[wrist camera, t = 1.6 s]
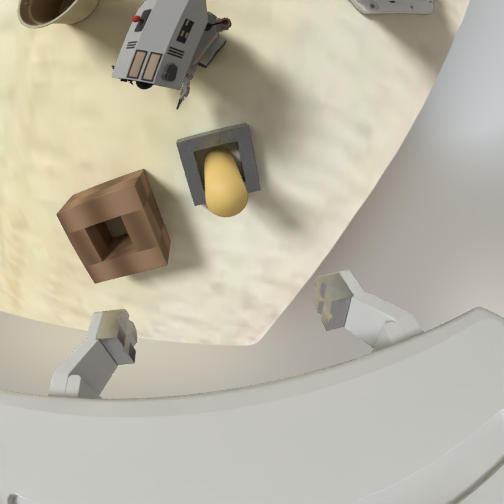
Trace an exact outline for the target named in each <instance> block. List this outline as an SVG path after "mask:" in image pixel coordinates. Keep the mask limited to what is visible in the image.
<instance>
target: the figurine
mask: <svg viewBox="0 0 504 504" xmlns="http://www.w3.org/2000/svg"><path fill="white" fill-rule="evenodd" d="M216 18H217V17H216V16H215V15H214V14H212V13H210V12H209V11H208V12H207V8H206V0H146V1H145V2H144V3H143V4H142V6H141V7H140V8H139V9H138V11H137V13H136V15H135V16H134V17H133V18H132V24H131V26H130V28H129V31H128V33H127V35H126V38H125V40H124V43H123V45H122V48H121V50H120V53H119V56H118V59H117V61H116V64H115V66H112V67H113V73H112V76H111V77H113V78H119V79H121V81H124V82H127V80H128V81H130V83H131V84H132V85H133V83H132V81H136V84H137V86H138V87H139V88H140V89H148V88H150V87H152V85H158V86H163V87H168V88H172V89H176V90H180V89H181V86H182V84H183V83H184V84H183V87H182V89H181V93H180V95H181V97H180V99H179V103H178V106H177V109H178V108H179V105H180V104H181V102H182V101H183V100H184V97H187V96H188V94H189V90H190V87H189V84H190V80H191V79H192V78H193V75H192V74H193V73H194V71H195V70H196V69H197V67H198V66H199V65H200V66H202V67H204V68H206V67H207V66H208V65H209V63H210V62H211V61H212V59H213V58H214V57H215V55H216V54H217V53H218V52H219V50H220V49H221V48H222V47H223V45H224V44H225V43H226V41H225V40H224V39H222V38H220V37H219V32H222V31H223V30H229V29H228V28H230V27H231V21H230V19H228V18H222V19H220V18H217V19H216ZM196 63H197V64H196ZM198 64H199V65H198ZM187 72H189V73H187ZM186 73H187V74H186Z"/></svg>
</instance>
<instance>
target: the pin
mask: <svg viewBox="0 0 504 504" xmlns="http://www.w3.org/2000/svg"><path fill="white" fill-rule="evenodd" d="M204 174H205V197H206V204H207V207H208V208H209V210H210V211H211V212H212V213H214V214H215V215H217V216H220V217H231V216H234V215H237V214H238V213H240V212H241V211H242V210H243V209H244V208H245V206H246V204H247V201H248V193H247V190H246V187H245V185H244V182H243V180H242V177H241V175H240V172H239V170H238V167H237V165H236V162H235V160H234V157H233V155H232V154H231V152H229V151H228V150H226V149H224V148H215V149H213V150H211V151H210V152H208V154H207V155H206V157H205V159H204Z"/></svg>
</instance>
